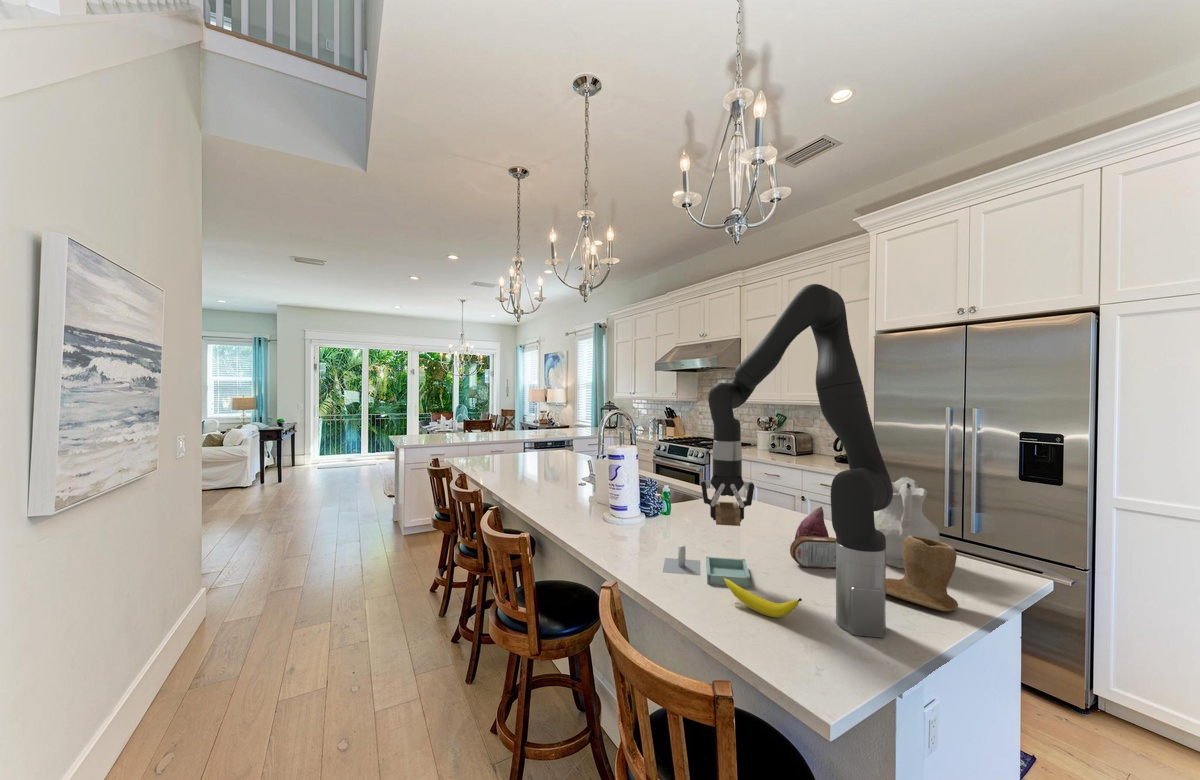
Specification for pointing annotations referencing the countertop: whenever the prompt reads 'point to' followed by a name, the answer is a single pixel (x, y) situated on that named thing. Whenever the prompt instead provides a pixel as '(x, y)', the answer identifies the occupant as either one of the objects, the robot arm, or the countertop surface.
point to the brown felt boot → (925, 574)
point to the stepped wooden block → (727, 513)
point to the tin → (814, 552)
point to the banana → (761, 602)
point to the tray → (727, 571)
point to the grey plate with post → (681, 564)
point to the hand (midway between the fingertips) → (727, 520)
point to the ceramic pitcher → (903, 519)
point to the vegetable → (813, 525)
